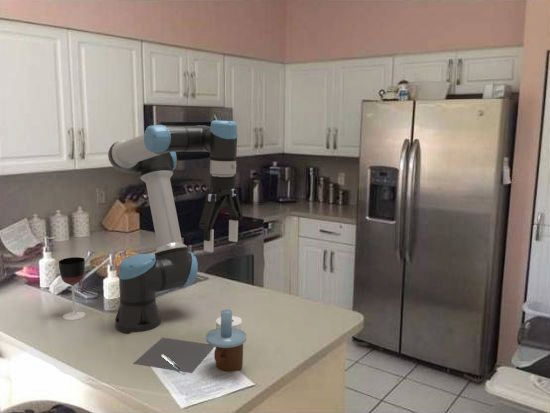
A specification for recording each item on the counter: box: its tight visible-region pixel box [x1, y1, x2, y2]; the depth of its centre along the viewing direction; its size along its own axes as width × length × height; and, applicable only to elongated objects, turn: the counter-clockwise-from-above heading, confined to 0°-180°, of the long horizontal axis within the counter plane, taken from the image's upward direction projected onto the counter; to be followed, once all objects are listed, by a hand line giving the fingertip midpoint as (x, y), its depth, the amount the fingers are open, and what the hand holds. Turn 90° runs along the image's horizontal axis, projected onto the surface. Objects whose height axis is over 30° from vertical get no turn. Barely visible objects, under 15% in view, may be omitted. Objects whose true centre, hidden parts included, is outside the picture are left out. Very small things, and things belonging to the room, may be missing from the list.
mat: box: [132, 337, 216, 374], centre depth 148 cm, size 18×18×1 cm
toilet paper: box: [215, 315, 243, 331], centre depth 159 cm, size 8×11×7 cm
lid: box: [205, 309, 247, 348], centre depth 138 cm, size 11×11×8 cm
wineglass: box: [58, 256, 87, 321], centre depth 174 cm, size 8×9×20 cm
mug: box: [213, 343, 244, 373], centre depth 139 cm, size 12×8×9 cm, turn 159°
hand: (221, 246), depth 148 cm, fingers open, 13 cm apart
